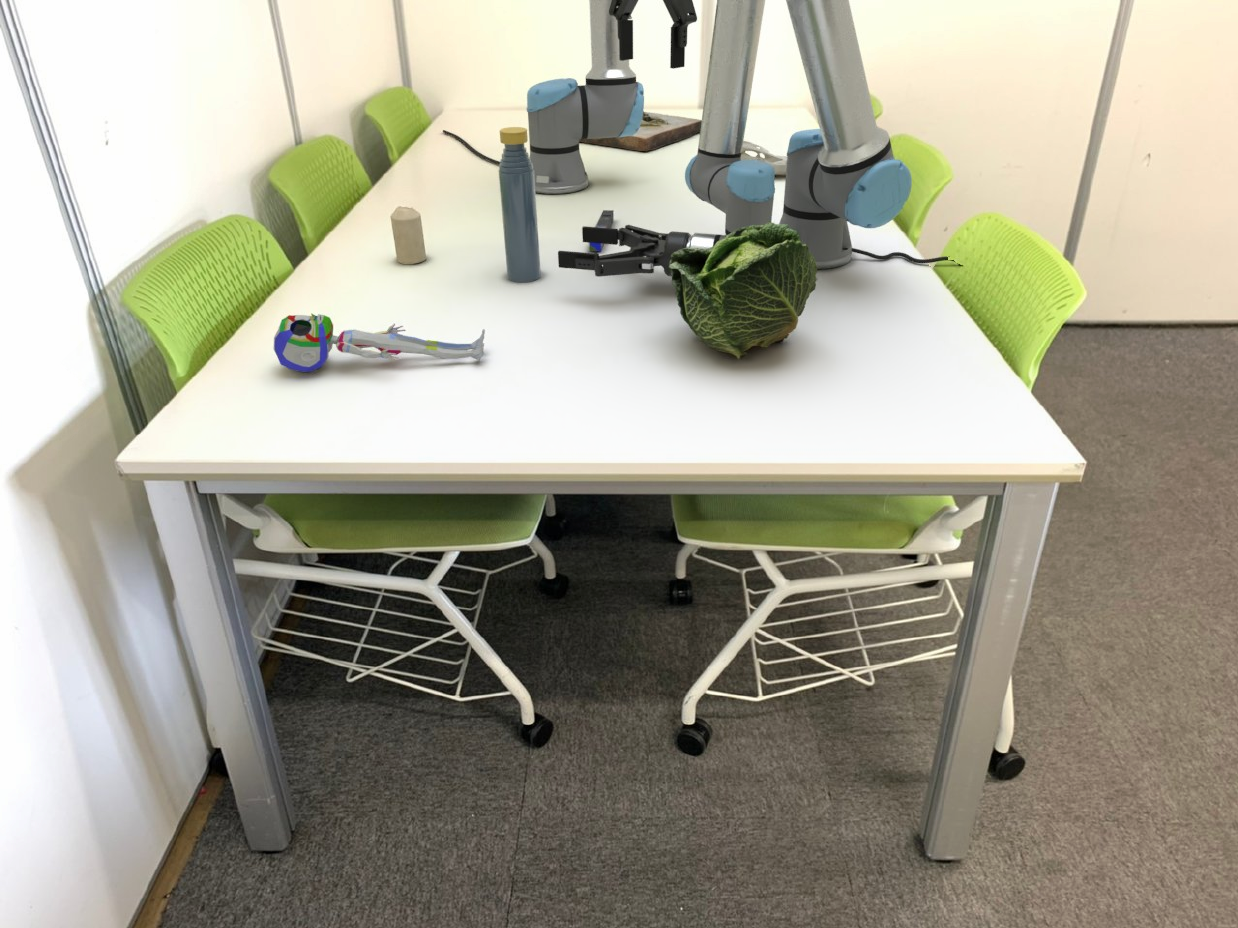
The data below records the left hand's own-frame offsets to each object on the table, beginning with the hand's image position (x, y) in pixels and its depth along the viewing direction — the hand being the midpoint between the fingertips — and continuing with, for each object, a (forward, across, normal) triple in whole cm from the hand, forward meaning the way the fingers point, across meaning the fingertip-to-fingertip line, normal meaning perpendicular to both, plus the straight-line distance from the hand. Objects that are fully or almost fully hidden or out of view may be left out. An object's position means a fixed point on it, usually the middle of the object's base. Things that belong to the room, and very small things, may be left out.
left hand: (651, 63), depth 161 cm
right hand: (+26, +6, -25) cm, 37 cm away
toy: (+33, +14, -66) cm, 75 cm away
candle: (+33, -24, -40) cm, 57 cm away
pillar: (+33, -10, -4) cm, 35 cm away
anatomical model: (+33, -20, +53) cm, 66 cm away
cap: (+8, -2, -30) cm, 31 cm away
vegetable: (+33, +45, -22) cm, 60 cm away
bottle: (+33, -2, -30) cm, 44 cm away
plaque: (+33, -73, +60) cm, 100 cm away
